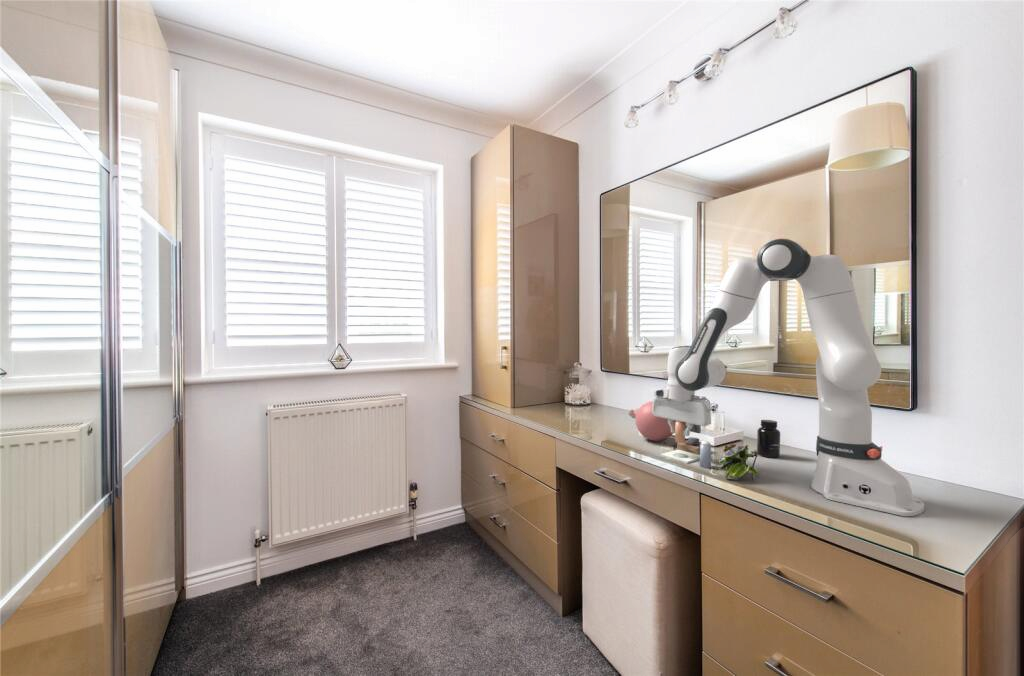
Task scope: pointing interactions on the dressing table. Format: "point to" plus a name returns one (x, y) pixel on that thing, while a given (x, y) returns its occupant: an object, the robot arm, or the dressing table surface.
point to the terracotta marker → (679, 432)
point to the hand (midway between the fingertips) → (679, 434)
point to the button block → (689, 448)
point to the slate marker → (705, 454)
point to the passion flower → (737, 461)
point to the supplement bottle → (768, 439)
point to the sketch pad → (681, 456)
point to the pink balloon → (651, 423)
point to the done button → (693, 441)
